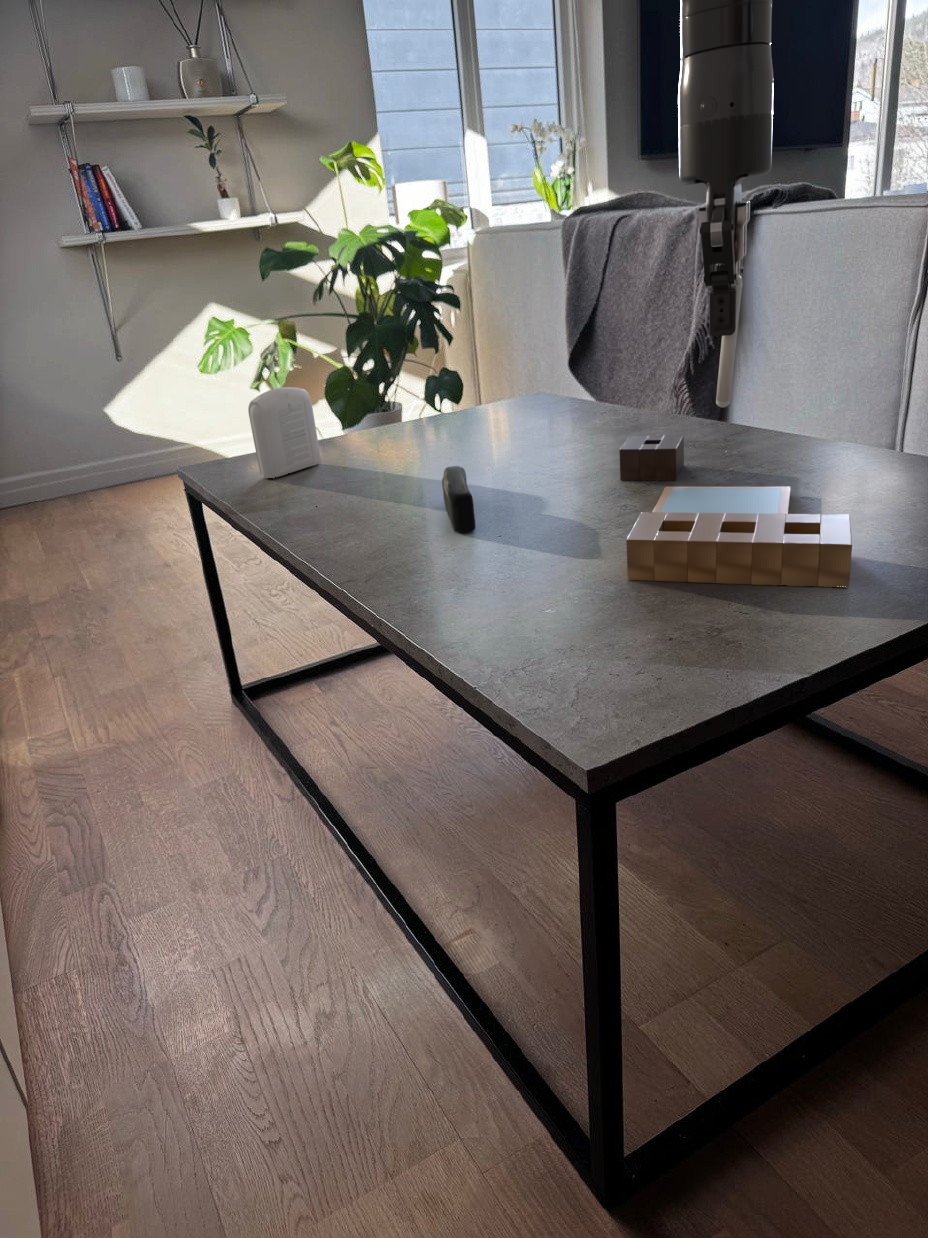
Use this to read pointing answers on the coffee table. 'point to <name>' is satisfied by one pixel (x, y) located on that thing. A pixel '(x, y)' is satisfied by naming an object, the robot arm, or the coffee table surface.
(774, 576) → the pen holder
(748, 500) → the tablet
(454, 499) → the dark grey tall block
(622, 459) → the stand
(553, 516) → the coffee table surface
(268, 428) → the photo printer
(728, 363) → the stylus
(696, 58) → the robot arm
